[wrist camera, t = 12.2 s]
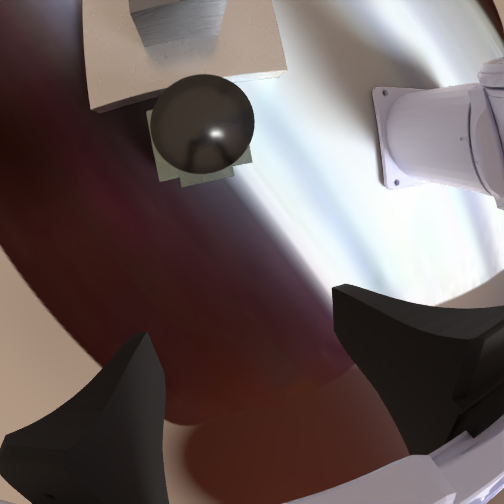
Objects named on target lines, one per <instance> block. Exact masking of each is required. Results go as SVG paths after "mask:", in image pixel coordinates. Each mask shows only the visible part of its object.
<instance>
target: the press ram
mask: <svg viewBox="0 0 504 504" xmlns="http://www.w3.org/2000/svg"><path fill="white" fill-rule="evenodd" d="M150 131H151V137H152V141H153V143H154V146H155V148H156V149H157V151H158V153H159V154H160V155H161V156H162V158H163V159H164V160H165V161H166V162H168V163H169V164H170V165H172V166H173V167H175V168H177V169H179V170H182V171H184V172H188V173H193V174H208V173H214V172H217V171H220V170H223V169H225V168H227V167H228V166H230V165H232V164H233V163H234V162H236V161H237V160H238V159H239V158H240V157H241V156H242V155H243V153H244V152H245V151H246V149H247V148H248V146H249V144H250V142H251V139H252V136H253V132H254V113H253V109H252V106H251V104H250V101H249V100H248V98H247V96H246V95H245V94H244V92H243V91H242V90H241V89H240V88H239V87H238V86H237V85H235V84H234V83H233V82H231V81H229V80H227V79H225V78H223V77H220V76H216V75H210V74H198V75H192V76H188V77H185V78H183V79H180V80H178V81H177V82H175V83H173V84H172V85H171V86H169V87H168V88H167V89H166V90H165V91H164V92H163V93H162V94H161V96H160V97H159V98H158V100H157V102H156V104H155V106H154V108H153V111H152V114H151V120H150Z"/></svg>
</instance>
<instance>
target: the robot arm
mask: <svg viewBox="0 0 504 504" xmlns="http://www.w3.org/2000/svg"><path fill="white" fill-rule="evenodd" d="M478 78H479V81H480V83H473V84H464V85H457V86H449V87H442V88H436V89H430V90H425V89H414V88H399V87H375V88H373V90H372V95H373V101H374V107H375V113H376V119H377V125H378V132H379V140H380V147H381V156H382V165H383V175H384V185H385V187H386V188H387V189H390V190H393V189H399V188H405V187H411V186H418V185H424V184H430V183H437V184H442V185H447V186H452V187H456V188H461V189H465V190H469V191H474V192H478V193H482V194H486V195H490V196H494V198H495V200H496V204H497V208H499V209H502V210H504V57H502V58H498V59H494V60H491V61H488V62H486V63H484V64H483V65H482V68H481V71H480V72H479V73H478ZM382 91H384V92H385V96H384V95H383V93H382ZM395 180H396V185H395V184H394V181H395ZM332 300H333V318H334V332H335V333H336V335H337V337H338V339H339V341H340V343H341V344H342V346H343V348H344V349H345V351H346V352H347V353H348V355H349V356H350V357H351V359H352V360H353V361H354V362H355V364H356V365H357V366H358V367H359V369H360V370H361V371H362V372H363V374H364V375H365V376H366V378H367V379H368V380H369V381H370V383H371V384H372V385H373V387H374V388H375V390H376V391H377V392H378V394H379V395H380V397H381V399H382V401H383V402H384V404H385V406H386V407H387V409H388V411H389V413H390V415H391V416H392V418H393V420H394V422H395V424H396V426H397V428H398V430H399V432H400V434H401V436H402V438H403V440H404V442H405V444H406V446H407V448H408V451H409V453H410V456H408V457H406V458H403V459H401V460H398V461H395V462H393V463H390V464H388V465H386V466H384V467H382V468H380V469H378V470H376V471H373V472H371V473H369V474H367V475H365V476H362V477H360V478H357V479H355V480H352V481H350V482H347V483H345V484H342V485H339V486H337V487H334V488H331V489H328V490H325V491H323V492H320V493H316V494H314V495H311V496H307V497H304V498H300V499H297V500H293V501H290V502H286V503H282V504H485V503H487V502H488V501H489V500H490V499H491V498H493V497H494V496H495V495H496V494H497V493H498V492H499V491H500V490H502V488H504V306H497V307H489V308H476V309H475V308H474V309H457V308H442V307H433V306H427V305H421V304H416V303H411V302H407V301H403V300H399V299H395V298H392V297H388V296H385V295H382V294H379V293H376V292H372V291H369V290H366V289H363V288H360V287H357V286H353V285H349V284H343V285H340V286H336V287H333V288H332ZM165 395H166V394H165V377H164V371H163V369H162V367H161V364H160V362H159V360H158V357H157V355H156V353H155V350H154V348H153V345H152V343H151V340H150V338H149V335H148V333H147V332H144V333H139V334H134V335H132V336H131V337H130V338H129V339H128V340H127V341H126V342H125V343H124V344H123V345H122V347H121V348H120V349H119V350H118V351H117V353H116V354H115V355H114V356H113V357H112V358H111V360H110V361H109V362H108V363H107V364H106V365H105V366H104V367H103V368H102V370H101V371H100V372H99V373H98V374H97V375H96V376H95V377H94V378H93V379H92V380H91V381H90V382H89V383H88V384H87V385H86V386H85V387H84V388H83V389H82V390H81V391H79V392H78V393H77V394H76V395H75V396H74V397H73V398H71V399H70V400H68V401H67V402H66V403H64V404H63V405H62V406H60V407H59V408H57V409H56V410H55V411H53V412H52V413H50V414H48V415H47V416H45V417H43V418H42V419H40V420H38V421H36V422H34V423H32V424H30V425H28V426H26V427H24V428H22V429H19V430H17V431H15V432H12V433H10V434H7V435H6V436H5V438H4V440H3V443H2V445H1V448H0V475H1V476H2V477H3V478H4V479H5V480H6V481H7V482H8V483H9V484H10V485H11V486H12V487H13V488H14V489H16V490H17V491H18V492H19V493H20V494H21V495H23V496H24V497H25V498H26V499H28V500H29V501H30V502H31V503H32V504H169V500H168V494H167V488H166V481H165V474H164V463H163V451H162V440H163V424H164V423H163V422H164V410H165ZM0 504H14V503H10V502H7V501H4V500H0Z"/></svg>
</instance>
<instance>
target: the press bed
mask: <svg viewBox="0 0 504 504" xmlns="http://www.w3.org/2000/svg"><path fill="white" fill-rule="evenodd" d="M83 38H84V54H85V66H86V76H87V86H88V94H89V102H90V109H91V110H93V111H95V112H97V113H103V112H107V111H110V110H113V109H116V108H120V107H123V106H126V105H130V104H133V103H137V102H141V101H144V100H148V99H152V98H156V97H160V96H161V94H162V93H163V92H164V91H165V90H166V89H167V88H168V87H169V86H171V85H172V84H173V83H175V82H177V81H178V80H180V79H183V78H185V77H188V76H192V75H198V74H210V75H216V76H220V77H223V78H225V79H227V80H229V81H231V82H233V83H235V82H242V81H250V80H259V79H269V78H279V77H280V76H281V75H282V74H283V73H285V72H286V71H287V66H286V61H285V56H284V52H283V47H282V43H281V38H280V34H279V30H278V25H277V21H276V17H275V13H274V9H273V5H272V1H271V0H227V3H226V6H225V10H224V14H223V18H222V22H221V26H220V30H219V32H217V33H211V34H204V35H198V36H193V37H188V38H183V39H178V40H173V41H168V42H164V43H160V44H156V45H152V46H148V47H144V45H143V43H142V40H141V38H140V36H139V33H138V31H137V29H136V27H135V24H134V22H133V20H132V17H131V15H130V10H129V1H128V0H83ZM152 111H153V110H149V111H146V114H147V120H148V125H149V131H150V120H151V114H152ZM150 136H151V131H150ZM151 142H152V147H153V152H154V157H155V162H156V167H157V171H158V176H159V181H160V182H162V181H166V180H170V179H175V178H179V177H180V181H181V186H182V187H185V186H190V185H194V184H199V183H203V182H208V181H212V180H217V179H222V178H227V177H232V176H234V172H233V166H235V165H241V164H246V163H252V157H251V151H250V146H248V148H247V149H246V151H245V152H244V153H243V155H242V156H241V157H240V158H239V159H238V160H237V161H236V162H234V163H233V164H232V165H230V166H228V167H227V168H225V169H223V170H220V171H217V172H214V173H208V174H193V173H188V172H184V171H182V170H179V169H177V168H175V167H173V166H172V165H170V164H169V163H168V162H166V161H165V160H164V159H163V158H162V156H161V155H160V154H159V153H158V151H157V149H156V148H155V146H154V143H153V141H152V137H151Z"/></svg>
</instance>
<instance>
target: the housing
mask: <svg viewBox="0 0 504 504" xmlns="http://www.w3.org/2000/svg"><path fill="white" fill-rule="evenodd" d="M128 1H129V10H130V15H131V17H132V20H133V22H134V24H135V27H136V29H137V31H138V33H139V36H140V38H141V40H142V43H143V45H144V47H148V46H152V45H156V44H160V43H164V42H168V41H173V40H178V39H183V38H188V37H193V36H198V35H204V34H211V33H217V32H219V30H220V26H221V22H222V18H223V14H224V10H225V6H226V3H227V0H128Z"/></svg>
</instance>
